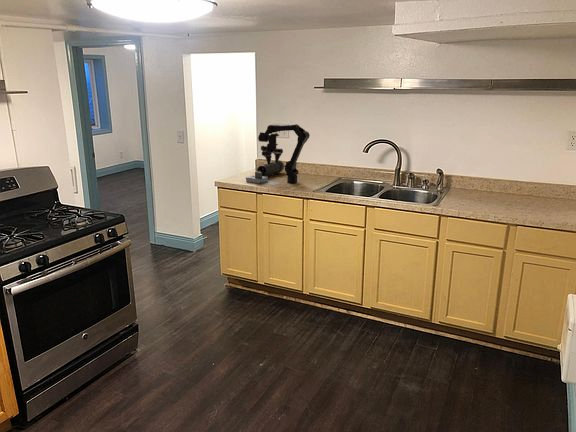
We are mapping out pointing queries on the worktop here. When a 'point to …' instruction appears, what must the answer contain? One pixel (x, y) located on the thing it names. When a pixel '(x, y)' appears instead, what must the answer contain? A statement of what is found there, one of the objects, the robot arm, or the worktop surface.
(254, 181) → the outlet block
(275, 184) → the mat
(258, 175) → the plug
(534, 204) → the worktop surface
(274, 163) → the muzzle brake
